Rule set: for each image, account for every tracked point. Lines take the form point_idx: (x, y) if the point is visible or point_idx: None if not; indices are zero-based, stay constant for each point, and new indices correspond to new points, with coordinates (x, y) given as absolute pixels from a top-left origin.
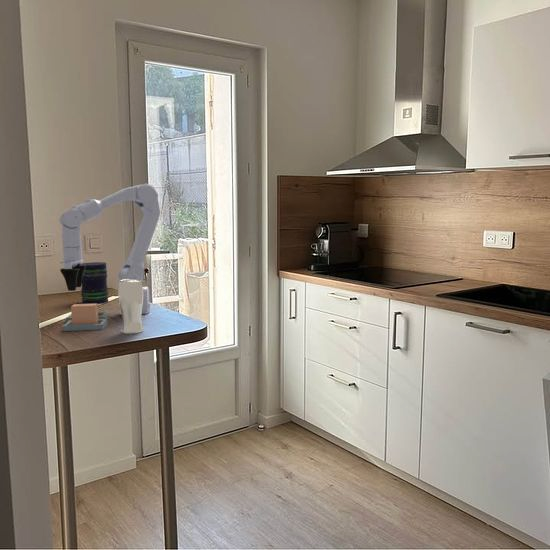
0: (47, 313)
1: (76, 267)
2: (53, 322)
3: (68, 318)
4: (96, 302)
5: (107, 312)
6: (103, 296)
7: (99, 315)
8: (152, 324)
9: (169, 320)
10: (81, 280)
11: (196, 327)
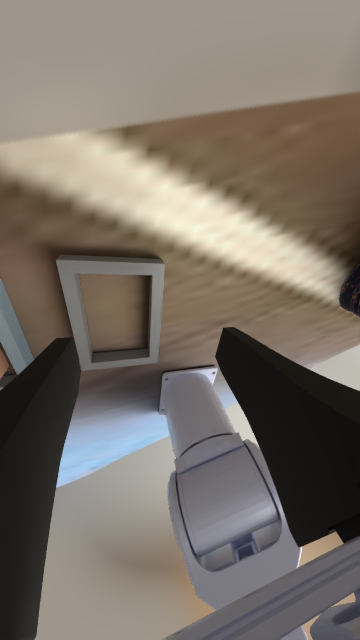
0: (297, 119)
1: (328, 497)
2: (67, 190)
3: (58, 268)
4: (347, 290)
5: (148, 363)
6: (358, 313)
7: (148, 340)
8: None
9: (85, 453)
10: (233, 392)
11: None
